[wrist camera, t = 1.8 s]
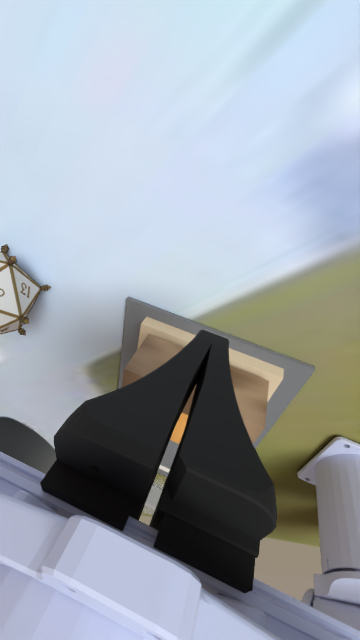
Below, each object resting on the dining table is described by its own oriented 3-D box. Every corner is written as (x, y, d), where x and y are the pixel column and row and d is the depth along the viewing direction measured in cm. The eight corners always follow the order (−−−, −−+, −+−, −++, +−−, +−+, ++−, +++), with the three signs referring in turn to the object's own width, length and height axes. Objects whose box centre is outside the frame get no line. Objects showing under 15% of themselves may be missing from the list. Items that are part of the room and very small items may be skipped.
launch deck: (314, 366, 21) (317, 390, 19) (204, 514, 42) (199, 532, 40) (128, 296, 23) (113, 311, 21) (111, 469, 44) (102, 485, 42)
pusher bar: (269, 380, 21) (265, 427, 17) (259, 396, 22) (253, 443, 19) (148, 333, 22) (123, 368, 19) (145, 351, 23) (121, 386, 20)
